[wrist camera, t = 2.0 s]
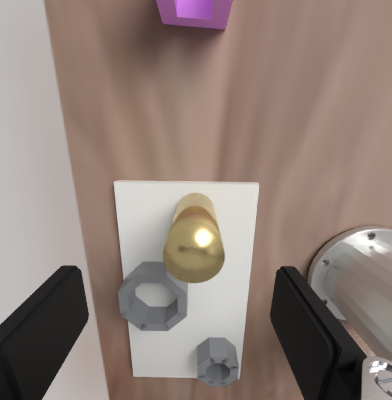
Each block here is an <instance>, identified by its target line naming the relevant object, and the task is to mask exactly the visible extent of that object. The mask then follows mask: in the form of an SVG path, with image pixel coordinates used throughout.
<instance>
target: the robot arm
mask: <svg viewBox="0 0 392 400" xmlns="http://www.w3.org/2000/svg"><path fill="white" fill-rule="evenodd" d="M88 315H89V313H88V307H87V302H86V296H85V290H84V284H83V279H82V273H81V270H80V269H78V268H77V266H61V267H60V268H59V269H58V270H57V271H56V272H55V273H54V274H53V275H52V276H51V277H50V278H48V279H47V280H46V281H45V282H44V283H43V284H42V285H41V286H40V287H39V288H38V289H37V290H36V291H35V292H34V293H33V294H32V295H31V296H30V297H29V298H28V299H27V300H26V301H25V302H23V304H21V306H19V307H18V308H17V309H16V310H15V311H14V312H13V313H12V314H11V315H10V316H9V317H8V318H7V319H6V320H5V321H4V322H3V323H2V324H1V325H0V400H42V398H43V397H44V395H45V393H46V392H47V390H48V388H49V386H50V385H51V383H52V381H53V380H54V378H55V376H56V374H57V373H58V371H59V369H60V368H61V366H62V364H63V362H64V361H65V359H66V357H67V356H68V354H69V352H70V350H71V349H72V347H73V345H74V344H75V342H76V340H77V338H78V337H79V335H80V333H81V332H82V330H83V328H84V326H85V324H86V323H87V321H88ZM270 318H271V322H272V325H273V327H274V329H275V332H276V334H277V336H278V339H279V341H280V343H281V346H282V348H283V350H284V353H285V355H286V357H287V360H288V362H289V364H290V367H291V369H292V371H293V374H294V376H295V378H296V381H297V383H298V385H299V388H300V390H301V393H302V395H303V397H304V400H392V229H390V228H386V227H381V226H365V227H359V228H355V229H352V230H349V231H346V232H344V233H342V234H340V235H338V236H336V237H335V238H333V239H332V240H331V241H329V242H328V243H327V244H326V245H325V246H324V247H323V248H322V249H321V250H320V251H319V252H318V254H317V255H316V256H315V258H314V259H313V262H312V264H311V266H310V269H309V273H308V283H307V281H306V280H305V279H304V278H303V276H302V275H301V274H300V273H299V271H298V270H297V269H296V268H295V267H293V266H282V267H281V268H280V270H277V272H276V279H275V285H274V292H273V299H272V306H271V312H270ZM337 319H340V320H346V321H348V322H349V324H350V325H351V326H352V327H353V328H354V330H355V331H356V332H357V333H358V334H359V336H360V337H361V338H362V339H363V340H364V342H365V343H366V344H367V345H368V346H369V348H370V349H371V350H372V351H373V352H374V354H375V355H376V356H377V357H376V356H372V357H367V356H366V355H365V353H364V352H363V351H362V350H361V348H360V347H359V346H358V345H357V343H356V342H355V341H354V340H353V338H352V337H351V336H350V335H349V333H348V332H347V331H346V330H345V328H344V327H343V326H342V325H341V323H340V322H339V321H338V320H337Z"/></svg>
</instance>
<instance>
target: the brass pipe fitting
mask: <svg viewBox="0 0 392 400" xmlns="http://www.w3.org/2000/svg"><path fill="white" fill-rule="evenodd" d="M224 260H225V252H224V248H223V243H222V239H221V235H220V231H219V226H218V222H217V218H216V214H215V210H214V206H213V203H212V201H211V200H210V199H209V198H208V197H207V196H205V195H203V194H201V193H190V194H187V195H186V196H184V197H183V198H182V199H181V200H180V201H179V203H178V206H177V209H176V212H175V215H174V218H173V221H172V224H171V227H170V231H169V234H168V237H167V240H166V243H165V246H164V249H163V262H164V265H165V267H166V269H167V271H168V272H169V273H170V274H171V275H172V276H173V277H175V278H176V279H178V280H180V281H183V282H186V283H202V282H205V281H208V280H210V279H212V278H213V277H215V276H216V275H217V274H218V273H219V271H220V270H221V268H222V267H223V264H224Z"/></svg>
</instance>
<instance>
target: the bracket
mask: <svg viewBox="0 0 392 400" xmlns="http://www.w3.org/2000/svg"><path fill="white" fill-rule="evenodd" d="M232 1H233V0H156V2H157V6H158V9H159V12H160V16H161V19H162V22H163V24H170V25H180V26H191V27H202V28H213V29H223V30H226V26H227V22H228V18H229V13H230V9H231V5H232Z"/></svg>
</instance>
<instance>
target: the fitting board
mask: <svg viewBox="0 0 392 400" xmlns="http://www.w3.org/2000/svg"><path fill="white" fill-rule="evenodd" d="M114 191H115V201H116V210H117V220H118V230H119V240H120V249H121V259H122V269H123V279H124V281H123V283H122V285H121V287H120V289H119V291H118V298H119V307H120V315H121V316H122V317H124V318H125V319H126V320H128V328H129V337H130V347H131V357H132V367H133V376H134V377H172V378H198V379H200V380H201V381H202V382H204V383H205V384H206V385H208V386H212V387H226V386H227V385H229V384H230V383H232V382H233V381H235V380H236V379H240V369H241V359H242V349H243V339H244V330H245V320H246V310H247V300H248V290H249V280H250V271H251V261H252V251H253V241H254V231H255V221H256V212H257V202H258V192H259V184H258V183H257V182H197V181H128V180H117V181H115V182H114ZM190 193H201V194H203V195H205V196H207V197H208V198H209V199H210V200H211V201H212V203H213V206H214V210H215V214H216V218H217V222H218V226H219V231H220V235H221V239H222V243H223V248H224V252H225V260H224V264H223V267H222V268H221V270H220V271H219V273H218V274H217V275H216V276H215V277H213V278H212V279H210V280H208V281H205V282H202V283H186V282H183V281H180V280H178V279H176V278H175V277H173V276H172V275H171V274H170V273H169V272H168V271H167V269H166V267H165V265H164V262H163V249H164V246H165V243H166V240H167V237H168V234H169V231H170V227H171V224H172V221H173V218H174V215H175V212H176V209H177V206H178V203H179V201H180V200H181V199H182V198H183V197H184V196H186V195H187V194H190Z"/></svg>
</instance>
